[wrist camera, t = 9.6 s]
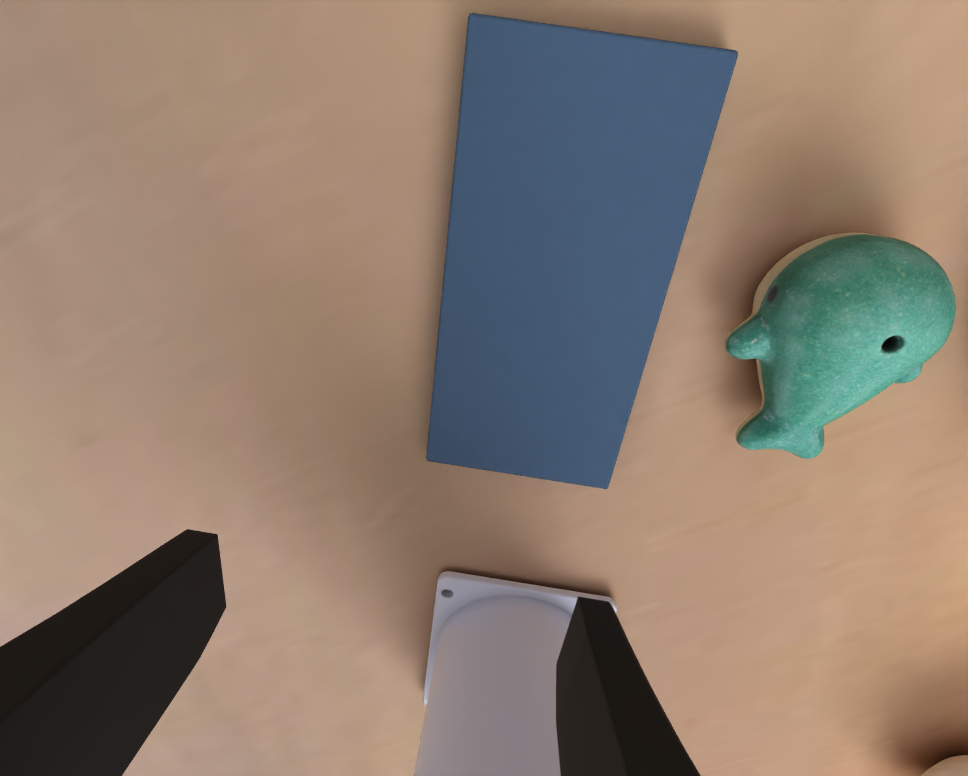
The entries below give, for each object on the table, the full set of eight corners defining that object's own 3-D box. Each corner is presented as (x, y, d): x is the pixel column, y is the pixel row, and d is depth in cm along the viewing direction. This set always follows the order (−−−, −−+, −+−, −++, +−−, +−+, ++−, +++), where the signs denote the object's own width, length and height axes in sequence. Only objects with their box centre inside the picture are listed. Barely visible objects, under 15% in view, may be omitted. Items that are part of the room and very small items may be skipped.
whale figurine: (949, 246, 15) (1074, 274, 11) (833, 448, 18) (904, 518, 15) (757, 211, 15) (825, 229, 11) (676, 419, 18) (711, 482, 15)
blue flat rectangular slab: (605, 477, 19) (608, 490, 19) (429, 450, 20) (425, 461, 19) (729, 55, 13) (740, 50, 13) (471, 18, 13) (468, 11, 13)
